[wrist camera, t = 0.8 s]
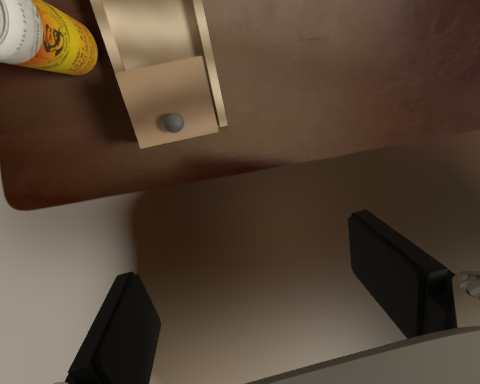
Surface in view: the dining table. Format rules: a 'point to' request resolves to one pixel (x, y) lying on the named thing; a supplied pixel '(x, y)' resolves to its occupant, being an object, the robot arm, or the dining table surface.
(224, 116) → the vise base
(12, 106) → the dining table surface
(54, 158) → the dining table surface
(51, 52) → the beer can
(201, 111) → the block
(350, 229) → the robot arm
